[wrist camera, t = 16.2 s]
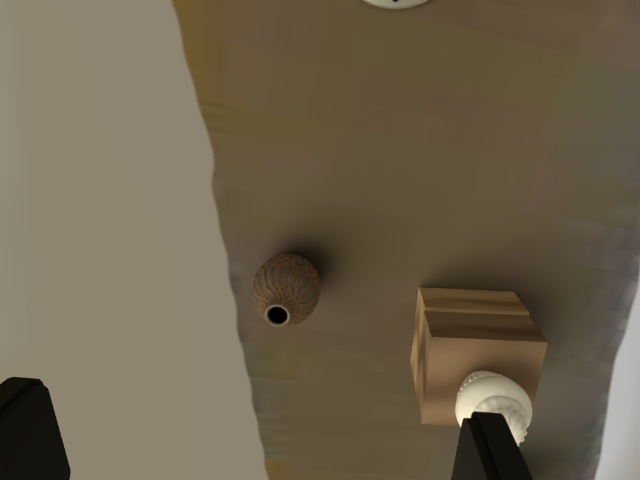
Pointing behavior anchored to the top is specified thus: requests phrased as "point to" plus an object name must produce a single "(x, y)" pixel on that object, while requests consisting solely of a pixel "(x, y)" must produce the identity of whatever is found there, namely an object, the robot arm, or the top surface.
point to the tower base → (461, 308)
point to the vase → (286, 290)
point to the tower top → (473, 357)
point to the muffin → (495, 400)
